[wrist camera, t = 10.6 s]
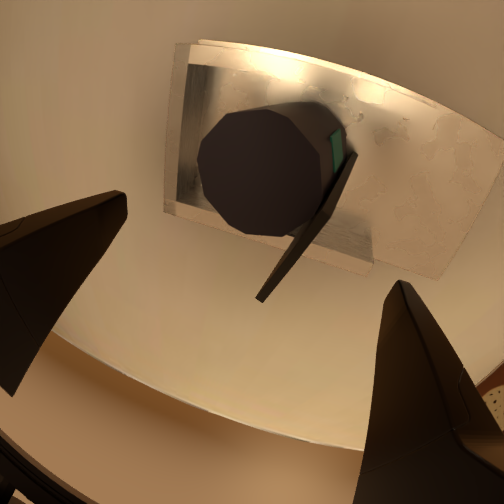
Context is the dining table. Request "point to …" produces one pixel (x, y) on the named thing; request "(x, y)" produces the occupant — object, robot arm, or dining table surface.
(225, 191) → the speaker
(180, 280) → the dining table surface
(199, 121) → the beige shallow tray
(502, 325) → the dining table surface
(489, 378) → the food container
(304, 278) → the dining table surface
